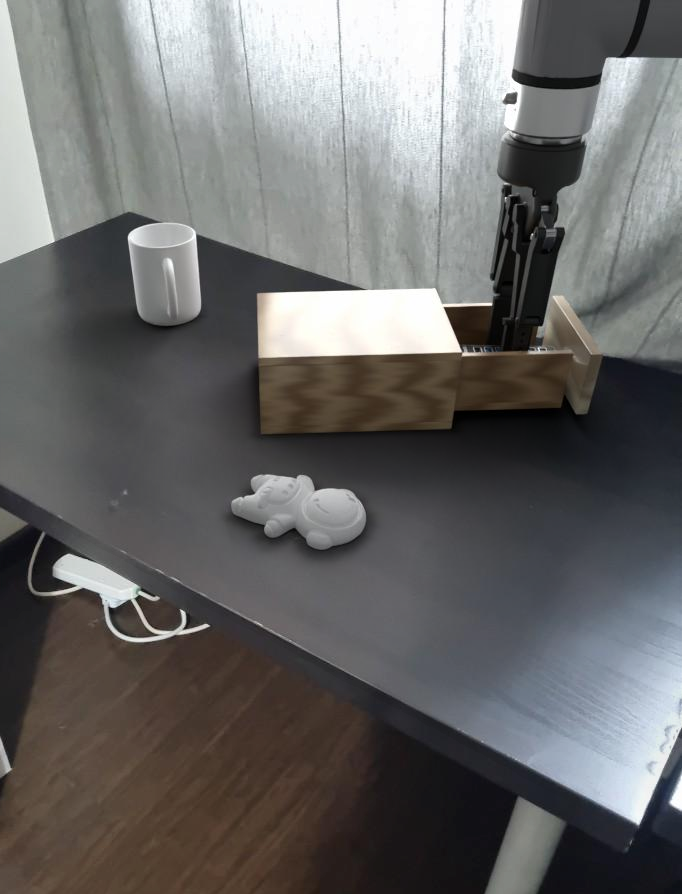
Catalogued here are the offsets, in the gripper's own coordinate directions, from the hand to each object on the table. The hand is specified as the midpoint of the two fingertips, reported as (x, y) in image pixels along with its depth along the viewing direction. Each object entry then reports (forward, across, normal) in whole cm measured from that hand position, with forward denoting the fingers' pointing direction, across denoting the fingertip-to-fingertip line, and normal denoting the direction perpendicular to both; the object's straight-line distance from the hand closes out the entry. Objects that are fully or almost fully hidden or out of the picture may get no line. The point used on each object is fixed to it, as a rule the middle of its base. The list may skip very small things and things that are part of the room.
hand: (503, 364), depth 89 cm
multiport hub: (+1, 0, 0) cm, 1 cm away
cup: (+3, -20, -38) cm, 43 cm away
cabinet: (+3, 0, -16) cm, 17 cm away
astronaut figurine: (+3, +21, -23) cm, 31 cm away
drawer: (+2, 0, -1) cm, 3 cm away
